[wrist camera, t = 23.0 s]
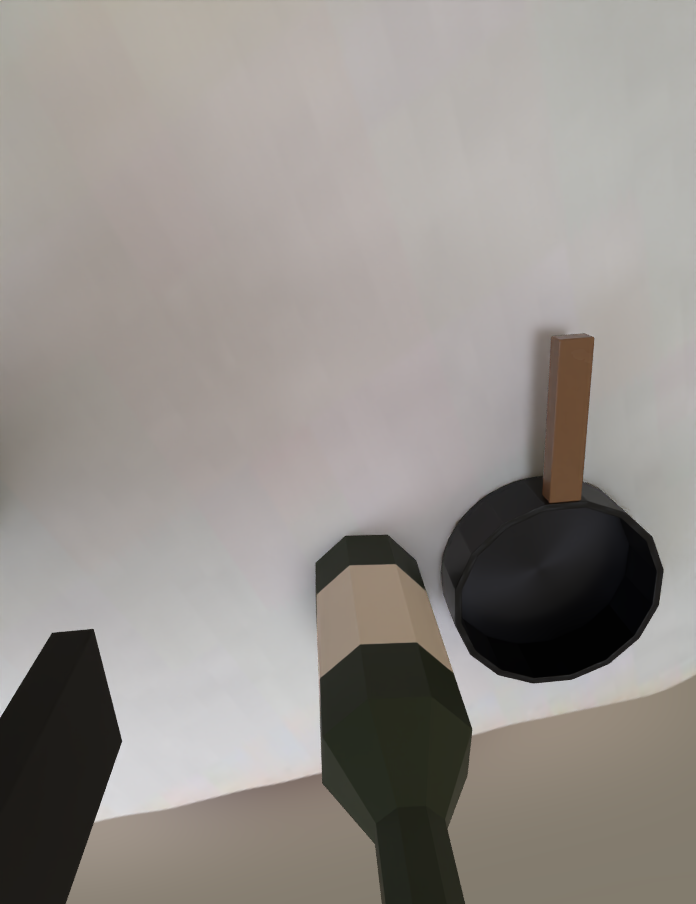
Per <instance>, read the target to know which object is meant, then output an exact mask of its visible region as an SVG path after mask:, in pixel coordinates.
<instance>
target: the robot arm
mask: <svg viewBox="0 0 696 904" xmlns="http://www.w3.org/2000/svg"><path fill="white" fill-rule="evenodd" d="M121 743H122V739H121V735H120V731H119V727H118V723H117V719H116V715H115V711H114V707H113V703H112V699H111V695H110V691H109V688H108V684H107V680H106V676H105V672H104V668H103V664H102V660H101V656H100V652H99V648H98V644H97V640H96V636H95V632H94V629H88V630H77V631H67V632H56V633H52V634H51V635H50V637H49V639H48V640H47V642H46V644H45V645H44V647H43V649H42V650H41V652H40V654H39V655H38V657H37V658H36V660H35V662H34V663H33V665H32V667H31V668H30V670H29V672H28V673H27V675H26V676H25V678H24V680H23V681H22V683H21V685H20V686H19V688H18V690H17V691H16V693H15V695H14V696H13V698H12V699H11V701H10V703H9V704H8V706H7V708H6V709H5V711H4V713H3V714H2V716H1V717H0V904H66V901H67V898H68V895H69V892H70V890H71V886H72V884H73V881H74V878H75V875H76V872H77V869H78V867H79V864H80V860H81V858H82V855H83V852H84V849H85V846H86V843H87V840H88V838H89V835H90V832H91V829H92V826H93V823H94V821H95V818H96V815H97V812H98V809H99V806H100V803H101V800H102V798H103V795H104V792H105V789H106V786H107V783H108V780H109V777H110V775H111V772H112V769H113V766H114V763H115V760H116V757H117V754H118V752H119V749H120V746H121Z"/></svg>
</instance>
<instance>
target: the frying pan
mask: <svg viewBox="0 0 696 904" xmlns="http://www.w3.org/2000/svg"><path fill="white" fill-rule="evenodd" d="M593 349H594V337H592V336H590V335H587V334H585V333H583V334H570V335H557V336H551V349H550V367H549V384H548V401H547V419H546V436H545V454H544V471H543V477H534V478H528V479H524V480H520V481H517V482H514V483H511V484H509V485H506V486H503V487H501V488H500V489H498V490H496V491H494V492H492V493H490V494H489V495H487V496H486V497H485V498H483V499H482V500H480V501H479V502H478V503H477V504H476V505H474V506H473V507H472V508H471V509H470V510H469V511H468V512H467V513H466V514H465V516H464V517H463V518H462V519H461V520H460V522H459V523H458V525H457V526H456V527H455V529H454V531H453V533H452V534H451V536H450V538H449V540H448V543H447V546H446V549H445V551H444V556H443V561H442V572H441V574H442V585H443V595H444V597H445V600H446V603H447V605H448V608H449V611H450V613H451V616H452V618H453V621H454V624H455V626H456V628H457V630H458V632H459V634H460V636H461V638H462V640H463V642H464V644H465V646H466V647H467V649H468V651H469V653H470V655H471V656H473V657H474V658H476V659H477V660H478V661H480V662H481V663H482V664H484V665H485V666H486V667H488V668H489V669H491V670H492V671H493V672H495V673H496V674H497V675H500V676H504V677H508V678H513V679H517V680H521V681H525V682H529V683H543V682H553V681H563V680H572V679H575V678H577V677H579V676H582V675H584V674H586V673H589V672H591V671H593V670H596V669H598V668H601V667H603V666H605V665H608V664H609V663H611V662H612V661H613V660H614V659H615V658H617V657H618V656H619V655H620V654H621V653H622V652H624V651H625V650H626V649H627V648H628V647H629V646H631V645H632V644H633V643H634V642H635V641H637V640H638V639H639V638H640V636H641V634H642V633H643V631H644V629H645V628H646V626H647V624H648V623H649V621H650V619H651V618H652V616H653V614H654V613H655V611H656V609H657V607H658V605H659V599H660V592H661V585H662V578H663V570H664V569H663V567H662V564H661V561H660V558H659V555H658V552H657V549H656V546H655V543H654V540H653V537H652V536H651V535H650V534H649V533H648V532H647V531H645V530H644V529H643V528H642V527H641V526H640V525H639V524H638V523H637V522H636V521H635V520H634V519H632V518H631V517H630V516H629V515H628V514H627V513H626V512H625V511H624V510H623V509H622V508H620V507H619V506H618V505H617V504H616V503H615V502H614V501H613V500H612V499H610V498H609V497H608V496H607V495H606V494H605V493H604V492H603V491H601V490H600V489H598V488H595V487H593V486H591V485H589V484H587V483H584V482H583V470H584V458H585V446H586V434H587V421H588V409H589V397H590V385H591V373H592V361H593Z"/></svg>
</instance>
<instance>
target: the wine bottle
mask: <svg viewBox="0 0 696 904" xmlns="http://www.w3.org/2000/svg"><path fill="white" fill-rule="evenodd" d="M316 617H317V645H318V674H319V702H320V730H321V759H322V783H323V785H324V786H325V787H326V788H327V789H328V790H329V792H330V793H331V794H332V795H333V796H334V797H335V798H336V800H337V801H338V802H339V803H340V804H341V805H342V807H344V809H345V810H346V811H347V812H348V813H349V815H350V816H351V817H352V818H353V819H354V820H355V822H356V823H357V824H358V825H359V826H360V827H361V828H362V830H363V831H364V832H365V833H366V834H367V835H368V837H369V838H370V839H371V840H372V841H373V842H374V843H375V848H376V856H377V865H378V874H379V883H380V891H381V900H382V904H465V901H464V898H463V893H462V889H461V885H460V881H459V876H458V872H457V868H456V864H455V860H454V855H453V851H452V847H451V843H450V839H449V834H448V830H447V828H448V826H449V823H450V820H451V818H452V815H453V812H454V809H455V807H456V804H457V802H458V799H459V796H460V793H461V791H462V789H463V785H464V783H465V780H466V778H467V774H468V765H469V755H470V746H471V737H472V727H471V724H470V721H469V718H468V715H467V712H466V709H465V706H464V703H463V700H462V697H461V694H460V691H459V688H458V685H457V682H456V679H455V676H454V673H453V670H452V667H451V664H450V661H449V658H448V655H447V652H446V649H445V646H444V643H443V640H442V637H441V634H440V631H439V628H438V625H437V622H436V619H435V616H434V613H433V610H432V607H431V604H430V601H429V598H428V595H427V592H426V589H425V586H424V583H423V580H422V577H421V574H420V571H419V568H418V565H417V562H416V560H415V559H414V558H413V557H411V556H410V555H409V554H408V553H407V552H406V551H405V550H404V549H403V548H401V547H400V546H399V545H398V544H397V543H396V542H395V541H394V540H393V539H391V538H390V537H389V536H388V535H372V536H345V537H344V538H343V539H342V540H341V541H340V542H338V543H337V544H336V545H335V546H334V547H333V548H332V549H331V550H330V551H328V552H327V553H326V554H325V555H324V556H323V557H322V558H321V559H320V560H318V561H317V562H316Z"/></svg>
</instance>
